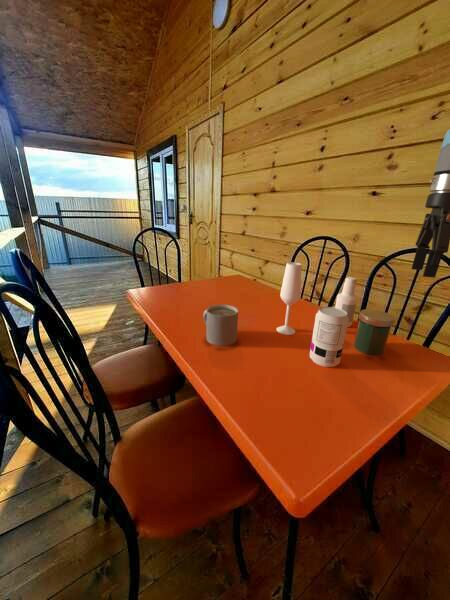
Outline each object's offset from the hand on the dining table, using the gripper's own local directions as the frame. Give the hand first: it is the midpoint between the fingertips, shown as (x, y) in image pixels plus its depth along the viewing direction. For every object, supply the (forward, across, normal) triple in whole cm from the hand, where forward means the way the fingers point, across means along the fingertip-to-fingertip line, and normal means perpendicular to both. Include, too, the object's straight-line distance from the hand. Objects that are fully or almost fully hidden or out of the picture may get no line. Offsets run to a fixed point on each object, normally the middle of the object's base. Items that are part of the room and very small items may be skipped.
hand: (422, 272), depth 76 cm
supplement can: (+24, +22, -24) cm, 40 cm away
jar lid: (+13, +9, -11) cm, 19 cm away
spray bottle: (+24, -8, -18) cm, 31 cm away
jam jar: (+24, +9, -11) cm, 28 cm away
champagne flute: (+24, +7, -37) cm, 45 cm away
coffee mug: (+24, +21, -57) cm, 65 cm away
